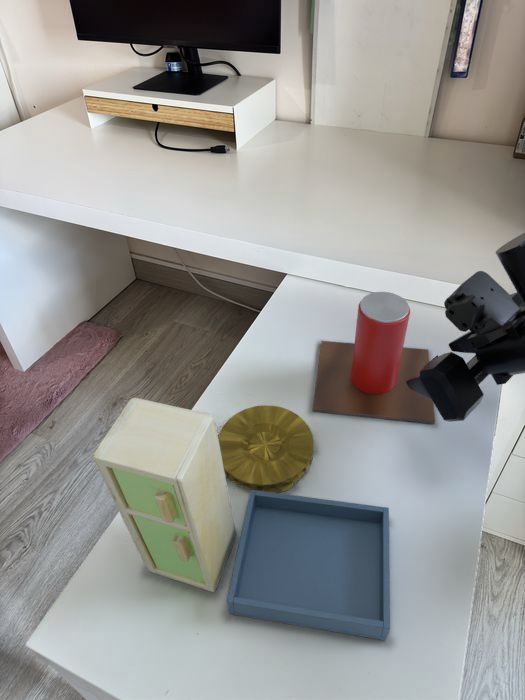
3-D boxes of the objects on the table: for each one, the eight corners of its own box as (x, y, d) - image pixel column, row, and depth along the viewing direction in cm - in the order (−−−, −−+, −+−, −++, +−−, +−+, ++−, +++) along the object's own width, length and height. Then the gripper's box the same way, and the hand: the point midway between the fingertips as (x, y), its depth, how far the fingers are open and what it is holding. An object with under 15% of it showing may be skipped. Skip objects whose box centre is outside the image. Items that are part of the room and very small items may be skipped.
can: (406, 382, 71) (421, 310, 62) (370, 401, 69) (381, 328, 60) (376, 356, 75) (387, 285, 66) (341, 372, 73) (348, 301, 64)
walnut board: (427, 351, 76) (428, 349, 76) (434, 424, 66) (435, 421, 66) (321, 343, 79) (321, 340, 78) (312, 411, 69) (312, 409, 68)
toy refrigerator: (142, 578, 53) (85, 462, 39) (172, 516, 58) (132, 394, 44) (212, 602, 51) (179, 488, 37) (237, 535, 56) (217, 413, 42)
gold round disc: (200, 470, 62) (197, 460, 61) (247, 404, 70) (246, 394, 68) (287, 510, 58) (287, 500, 56) (327, 435, 65) (328, 424, 64)
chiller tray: (385, 521, 56) (388, 507, 54) (386, 640, 48) (390, 629, 46) (252, 504, 59) (250, 489, 57) (229, 614, 50) (226, 601, 48)
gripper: (553, 230, 53) (440, 277, 66) (456, 311, 44) (348, 346, 57) (602, 321, 54) (481, 349, 67) (518, 419, 45) (397, 428, 58)
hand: (430, 365), depth 62 cm, fingers open, 9 cm apart
